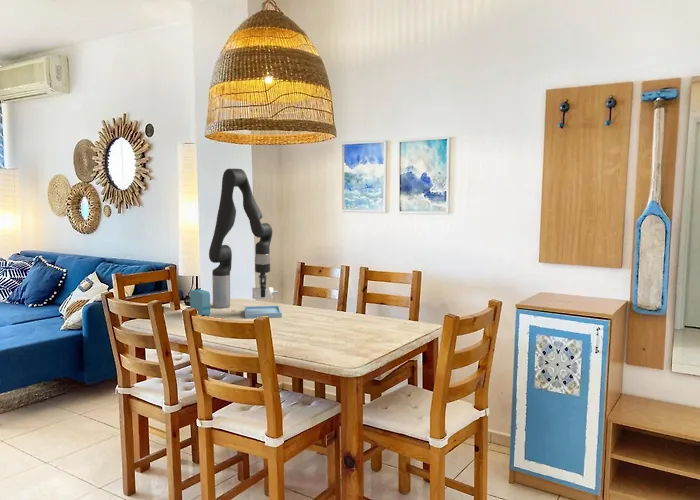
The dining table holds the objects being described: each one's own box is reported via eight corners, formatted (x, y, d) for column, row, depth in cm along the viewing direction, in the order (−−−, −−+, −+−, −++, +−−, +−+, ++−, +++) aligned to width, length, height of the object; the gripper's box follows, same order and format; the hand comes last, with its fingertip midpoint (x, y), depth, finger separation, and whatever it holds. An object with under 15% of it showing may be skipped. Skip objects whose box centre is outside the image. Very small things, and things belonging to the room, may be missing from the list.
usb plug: (252, 299, 272) (252, 289, 272) (252, 297, 277) (252, 287, 276) (278, 298, 275) (277, 288, 275) (277, 296, 279) (277, 287, 279)
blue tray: (244, 310, 284) (244, 306, 283) (279, 309, 287) (279, 305, 287) (245, 318, 266) (245, 313, 266) (281, 317, 270) (281, 312, 269)
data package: (210, 315, 271) (210, 292, 269) (202, 317, 267) (202, 293, 266) (198, 311, 279) (197, 288, 278) (190, 313, 276) (189, 289, 275)
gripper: (254, 261, 280) (254, 294, 282) (255, 264, 266) (255, 299, 268) (269, 261, 282) (269, 293, 283) (270, 264, 268) (271, 298, 269)
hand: (262, 296), depth 276 cm, fingers closed on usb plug, 4 cm apart
